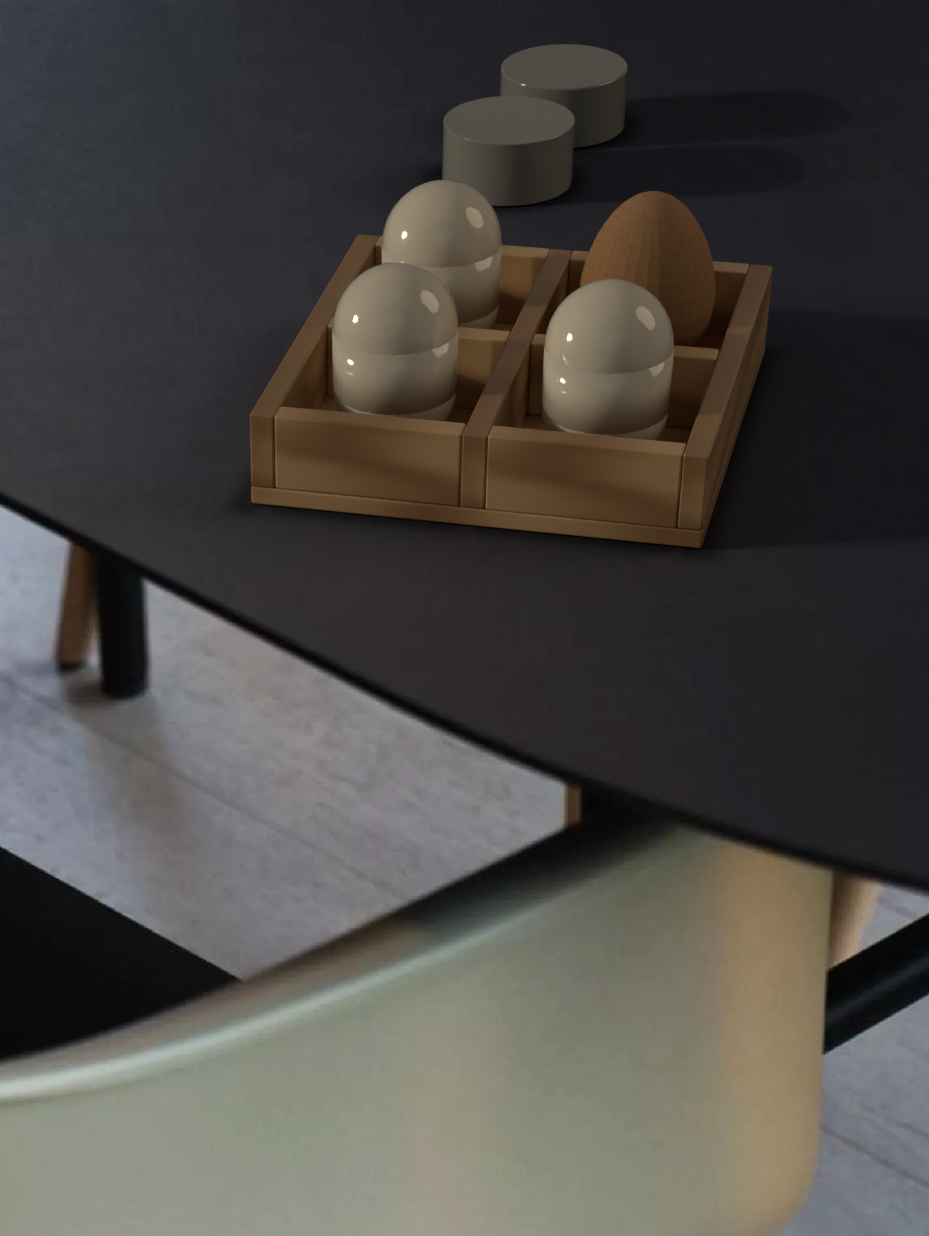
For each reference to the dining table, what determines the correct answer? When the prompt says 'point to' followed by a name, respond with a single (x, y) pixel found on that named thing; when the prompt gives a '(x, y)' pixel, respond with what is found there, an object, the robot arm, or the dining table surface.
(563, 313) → the cream egg
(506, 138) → the grey short cylinder
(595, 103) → the grey short cylinder
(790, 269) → the dining table surface
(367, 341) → the cream egg
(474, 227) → the cream egg
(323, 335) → the egg tray
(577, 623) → the dining table surface
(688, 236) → the egg
